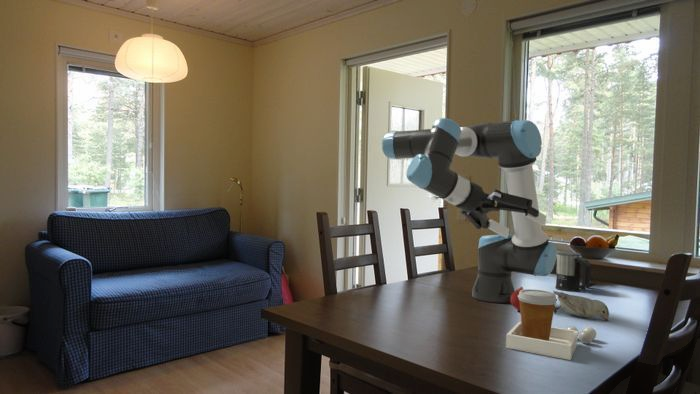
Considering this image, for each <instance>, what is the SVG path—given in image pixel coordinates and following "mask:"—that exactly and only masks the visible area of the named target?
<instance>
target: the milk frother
mask: <svg viewBox="0 0 700 394" xmlns="http://www.w3.org/2000/svg"><path fill="white" fill-rule="evenodd" d="M581 255H582V254H581V253H578V252H572V251H571V252H568V251H557V257H556V277H555V278H556V279H555V280H556V283H555V289H556V290H559V291H567V292H578V291H579V292H580V291H581V289H584V288H586V289H589V288H591V287H593V286H596V285H598V284H599V282H598V281H593V282H592V281H590V280H591V272H592V271H591V270H592V268H591V267H592V266H591V262H590V261H589V260H588V259H586V258H585V257H581ZM581 265H582V277H581ZM580 280H581V281H580Z"/></svg>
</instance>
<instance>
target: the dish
mask: <svg viewBox="0 0 700 394" xmlns="http://www.w3.org/2000/svg"><path fill="white" fill-rule="evenodd" d="M578 332H579V330H578V331H575V330H568V329H567V328H561V327H555V326H551V331H550V336H549V341H546V340H540V339H534V338H529V337H523V335H522V324H521V321H518V322H517V323H516V324H515V325H514V326H513V327H512V328H511V329H510V330H509V331H508V332H507V333H506V338H505V339H506V340H505V348H506V349H511V350H516V351H521V352H527V353H532V354H536V355H541V356H546V357H553V358H556V359H557V358H558V359H562V360H569V361H571V360H572V357H573V356H574V353H575V351H576V348H577V346H578V341H579V340H578V339H579V335H578Z"/></svg>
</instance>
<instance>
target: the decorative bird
mask: <svg viewBox="0 0 700 394" xmlns="http://www.w3.org/2000/svg"><path fill="white" fill-rule="evenodd" d="M552 293H554V294H555V295H556V296H557V301H558V302H559V304H560V305H559V306H558V307H556V306H555V307H554V314H555V315H557V313H558V312H557V311H558V310H560V309H562V310H564V312H566V313H568V314H571V315H574V316H577V317H580V318H592V317H596V316H598V317H600V318H602V319H604V320H605V321H606V322H608V321H609V318H610V317H609V316H610V311H609V308H608V306H607V305H606V303H604V301H601V300H598V299H591V298H588V297H584V296H580V295H574V294H573V295H572V294H568V293H565V292H562V291H560V292H559V291H555V290H553V291H552Z"/></svg>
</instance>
